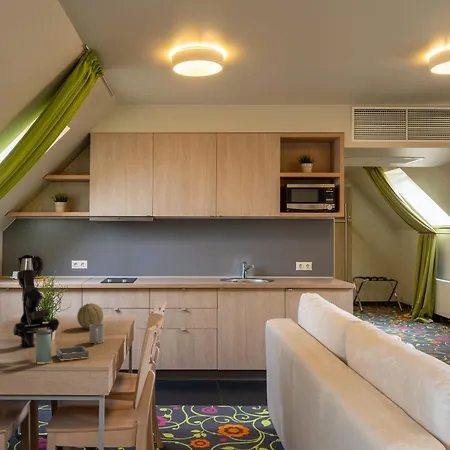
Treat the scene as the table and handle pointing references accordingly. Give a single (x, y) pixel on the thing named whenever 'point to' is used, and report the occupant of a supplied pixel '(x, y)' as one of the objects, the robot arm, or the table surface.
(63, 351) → the grey square tray
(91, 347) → the table surface
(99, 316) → the seamed olive ball
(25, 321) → the robot arm
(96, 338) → the cup
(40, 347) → the canister
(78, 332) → the table surface
